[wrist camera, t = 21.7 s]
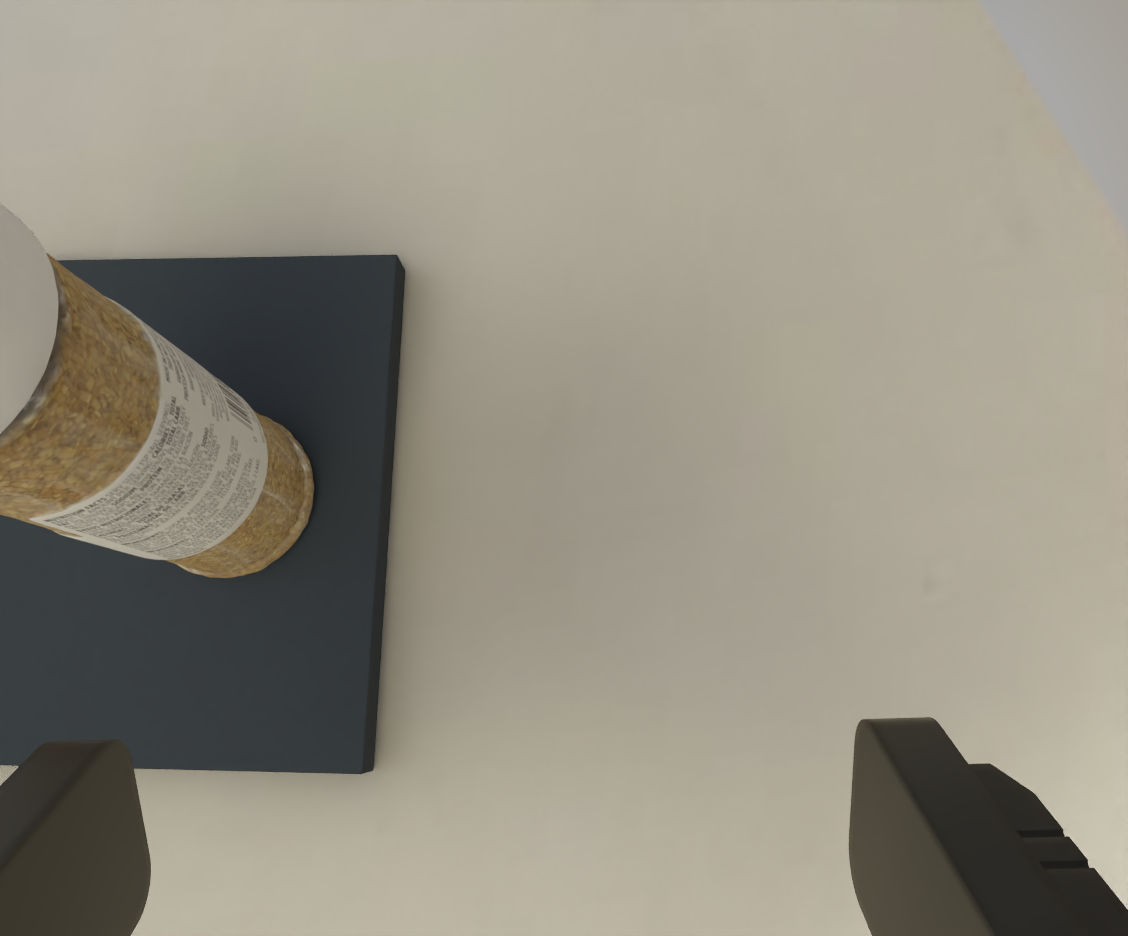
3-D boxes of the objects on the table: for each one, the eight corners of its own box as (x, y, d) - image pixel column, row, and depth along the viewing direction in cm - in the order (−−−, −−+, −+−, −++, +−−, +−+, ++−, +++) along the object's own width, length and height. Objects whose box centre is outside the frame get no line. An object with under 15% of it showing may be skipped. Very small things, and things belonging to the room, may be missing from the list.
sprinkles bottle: (127, 473, 25) (-420, 232, 12) (273, 385, 25) (-106, 58, 12) (201, 616, 24) (-315, 524, 11) (352, 523, 24) (28, 324, 11)
